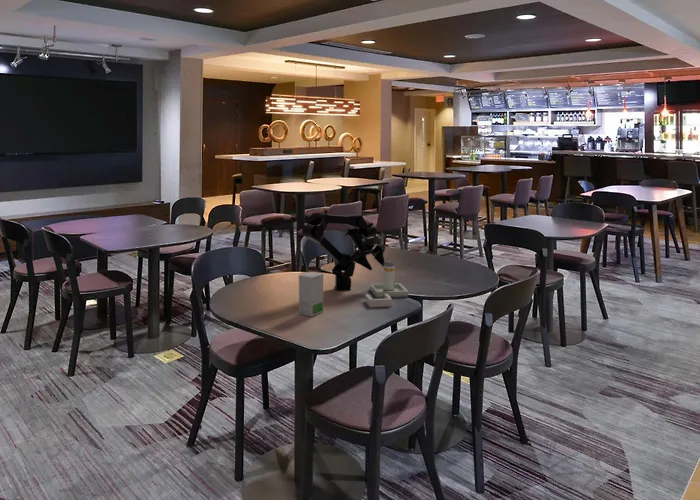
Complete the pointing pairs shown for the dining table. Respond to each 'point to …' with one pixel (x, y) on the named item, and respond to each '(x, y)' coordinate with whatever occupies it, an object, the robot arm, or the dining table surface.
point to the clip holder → (378, 301)
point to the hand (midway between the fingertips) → (378, 268)
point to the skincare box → (310, 294)
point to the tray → (398, 291)
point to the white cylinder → (388, 276)
